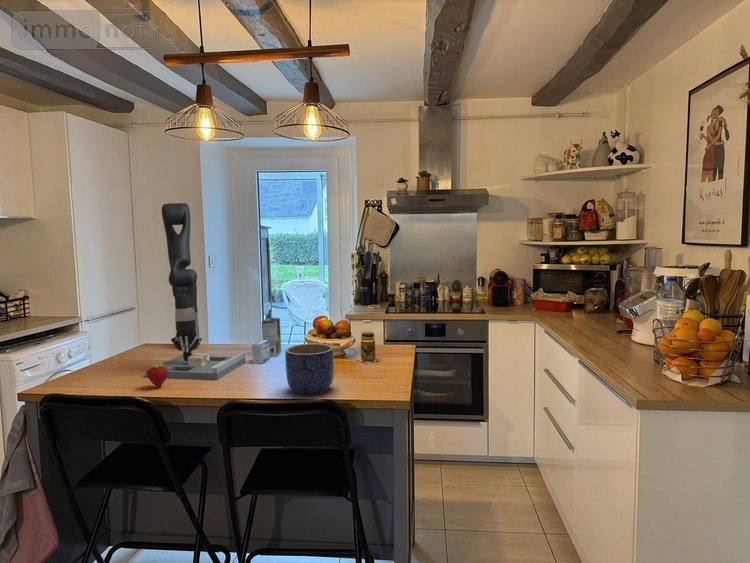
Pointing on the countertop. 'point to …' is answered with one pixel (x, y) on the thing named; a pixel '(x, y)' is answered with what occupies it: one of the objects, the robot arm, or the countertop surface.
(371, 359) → the condiment
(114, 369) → the countertop surface
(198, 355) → the birch block
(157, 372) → the strawberry
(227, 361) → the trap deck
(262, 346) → the medicine box
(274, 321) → the coffee box
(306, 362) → the planter
